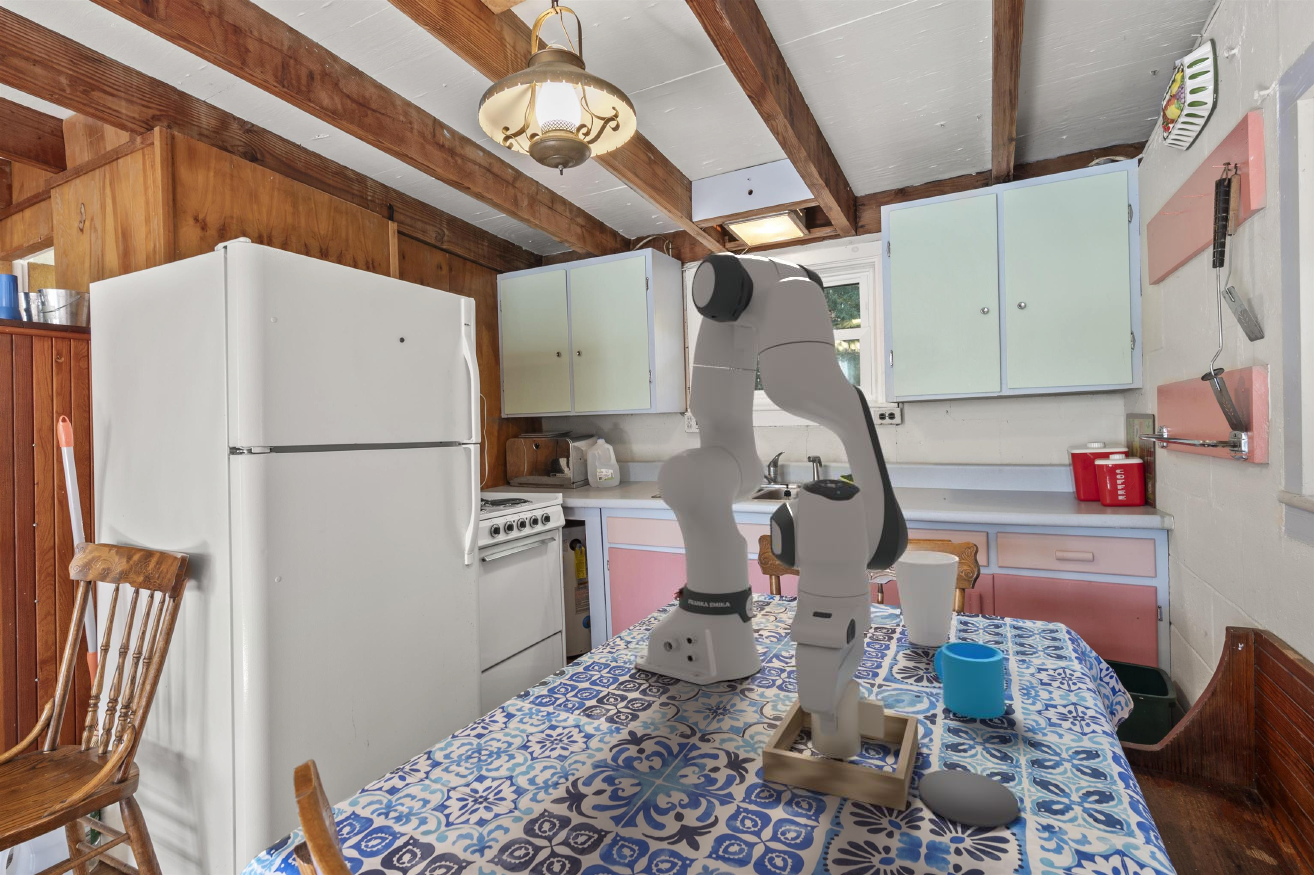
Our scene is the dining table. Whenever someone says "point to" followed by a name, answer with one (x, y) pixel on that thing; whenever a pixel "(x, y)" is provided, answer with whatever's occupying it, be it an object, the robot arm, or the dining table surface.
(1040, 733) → the dining table surface
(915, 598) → the cup
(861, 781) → the holder
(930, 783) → the grey oval disc
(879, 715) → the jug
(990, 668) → the mug
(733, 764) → the dining table surface
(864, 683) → the dining table surface
